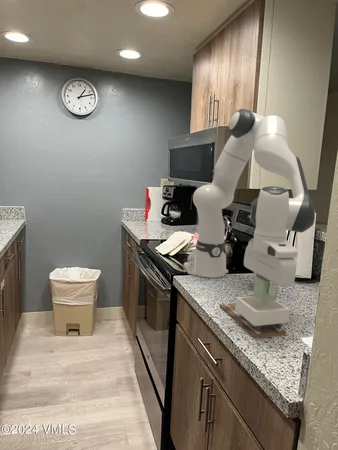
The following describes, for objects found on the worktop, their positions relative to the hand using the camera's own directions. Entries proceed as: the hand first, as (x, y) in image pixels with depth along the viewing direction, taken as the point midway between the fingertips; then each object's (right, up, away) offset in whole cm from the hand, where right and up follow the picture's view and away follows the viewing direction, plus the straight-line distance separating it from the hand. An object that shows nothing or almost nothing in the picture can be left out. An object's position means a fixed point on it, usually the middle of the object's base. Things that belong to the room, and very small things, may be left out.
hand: (264, 291), depth 100 cm
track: (-3, -10, +7) cm, 13 cm away
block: (0, -2, 0) cm, 2 cm away
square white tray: (-1, -9, +2) cm, 10 cm away
